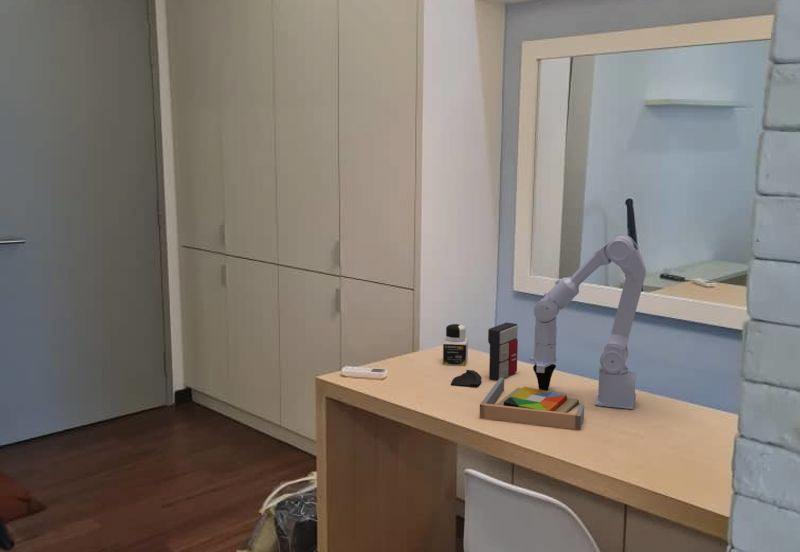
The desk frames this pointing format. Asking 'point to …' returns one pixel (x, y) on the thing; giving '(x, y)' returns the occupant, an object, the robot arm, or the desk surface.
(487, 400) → the bay
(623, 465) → the desk surface
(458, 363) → the medicine bottle
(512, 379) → the desk surface
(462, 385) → the dark sector wedge
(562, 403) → the wooden puzzle
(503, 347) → the grey and red box
